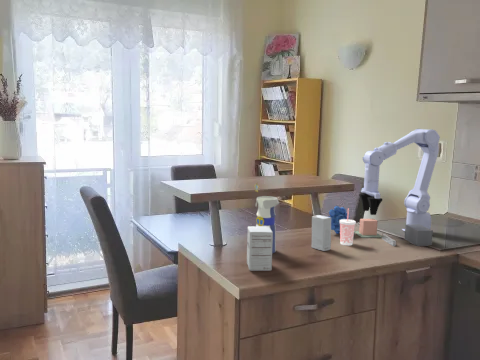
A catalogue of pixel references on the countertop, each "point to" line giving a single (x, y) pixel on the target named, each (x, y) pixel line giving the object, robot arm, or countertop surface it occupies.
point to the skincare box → (321, 232)
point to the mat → (367, 235)
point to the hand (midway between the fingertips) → (369, 212)
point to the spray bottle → (267, 214)
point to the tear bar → (388, 240)
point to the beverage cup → (347, 230)
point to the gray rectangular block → (418, 234)
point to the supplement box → (259, 248)
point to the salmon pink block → (368, 227)
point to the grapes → (337, 217)
